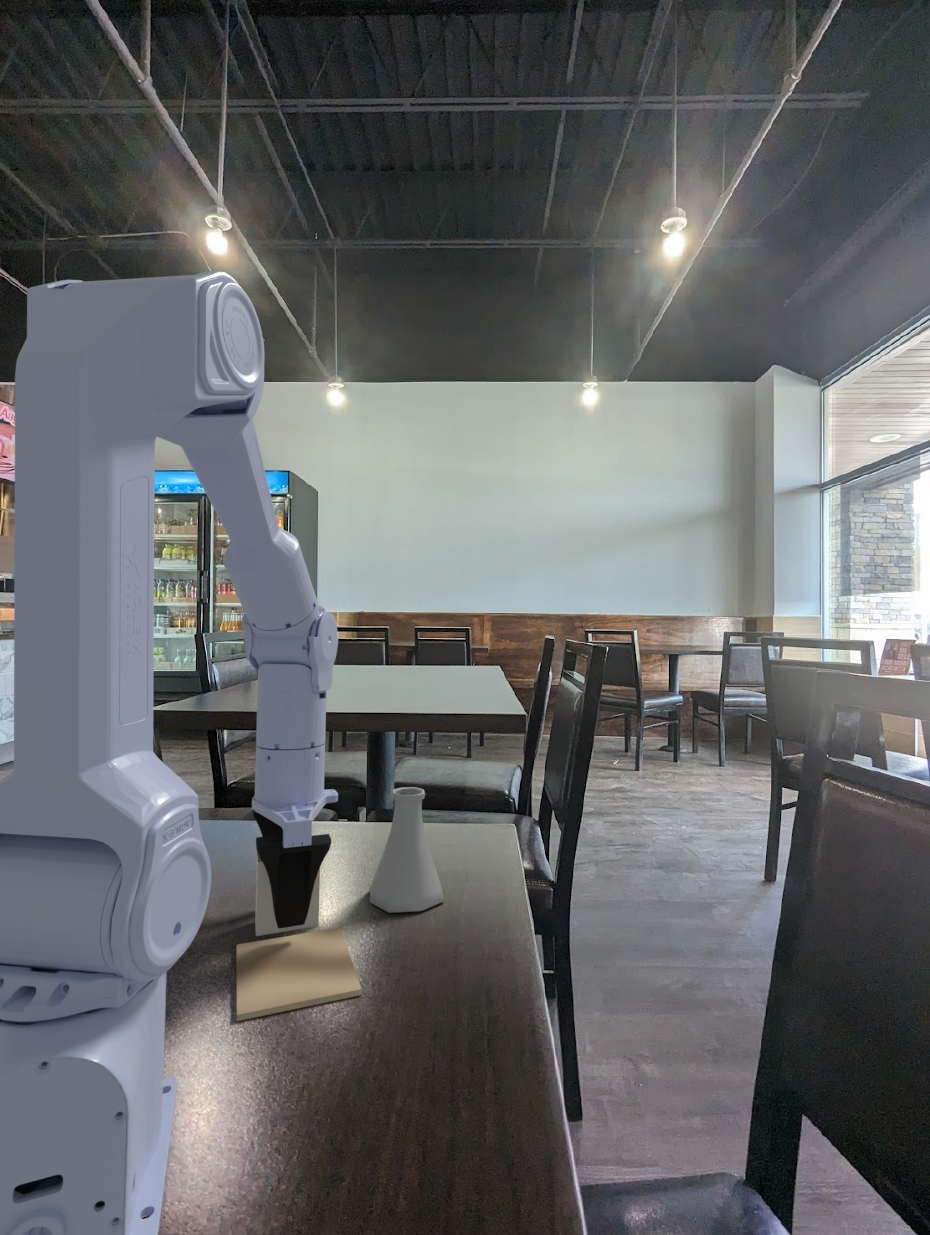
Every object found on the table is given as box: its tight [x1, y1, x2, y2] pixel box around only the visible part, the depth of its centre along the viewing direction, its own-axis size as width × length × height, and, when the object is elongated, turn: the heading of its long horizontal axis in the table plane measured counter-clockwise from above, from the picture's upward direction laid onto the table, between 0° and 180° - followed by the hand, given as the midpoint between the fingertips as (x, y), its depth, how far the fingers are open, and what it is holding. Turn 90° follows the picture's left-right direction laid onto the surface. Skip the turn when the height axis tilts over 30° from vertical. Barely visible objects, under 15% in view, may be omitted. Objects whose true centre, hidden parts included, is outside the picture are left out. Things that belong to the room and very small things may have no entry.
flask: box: [369, 786, 445, 914], centre depth 55 cm, size 7×7×10 cm
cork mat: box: [235, 927, 363, 1022], centre depth 43 cm, size 9×8×1 cm
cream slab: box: [254, 851, 321, 937], centre depth 50 cm, size 2×5×6 cm, turn 112°
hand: (287, 904), depth 50 cm, fingers open, 7 cm apart
